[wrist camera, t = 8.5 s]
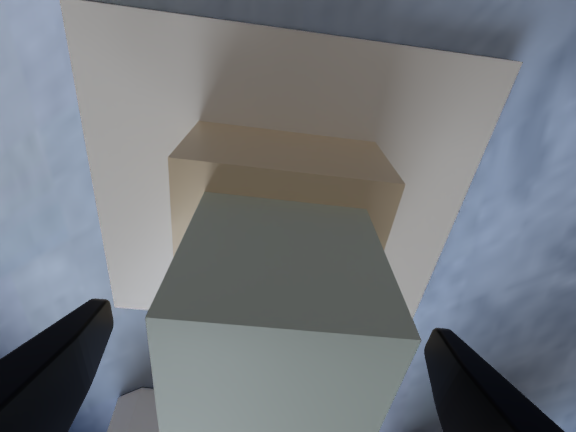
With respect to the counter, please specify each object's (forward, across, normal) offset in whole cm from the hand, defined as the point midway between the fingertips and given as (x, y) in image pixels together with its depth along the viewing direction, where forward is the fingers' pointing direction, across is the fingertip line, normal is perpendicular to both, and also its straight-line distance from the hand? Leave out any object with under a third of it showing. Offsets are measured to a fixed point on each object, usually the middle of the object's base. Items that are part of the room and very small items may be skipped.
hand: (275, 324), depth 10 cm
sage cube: (+3, 0, 0) cm, 3 cm away
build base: (+8, 0, 0) cm, 8 cm away
